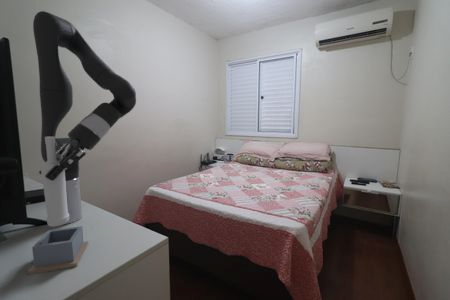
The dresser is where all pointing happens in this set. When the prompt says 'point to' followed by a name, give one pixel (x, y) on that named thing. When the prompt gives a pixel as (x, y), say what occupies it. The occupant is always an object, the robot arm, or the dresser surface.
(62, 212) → the bottle
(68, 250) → the sleeve
